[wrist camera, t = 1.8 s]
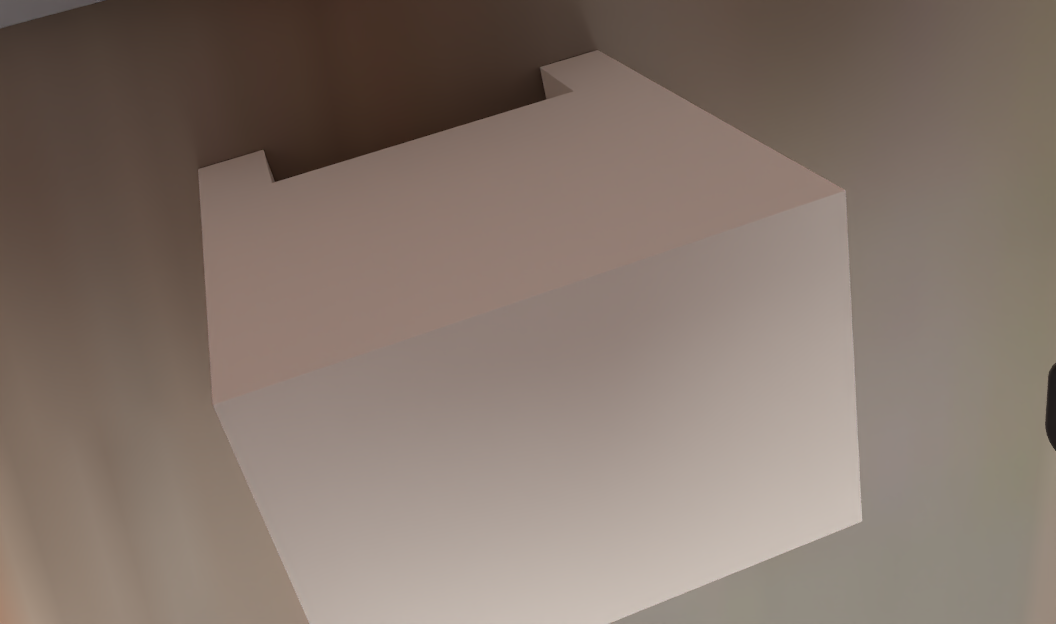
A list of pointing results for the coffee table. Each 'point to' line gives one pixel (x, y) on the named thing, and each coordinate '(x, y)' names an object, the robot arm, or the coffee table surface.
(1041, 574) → the coffee table surface
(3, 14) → the rail plate
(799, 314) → the block
